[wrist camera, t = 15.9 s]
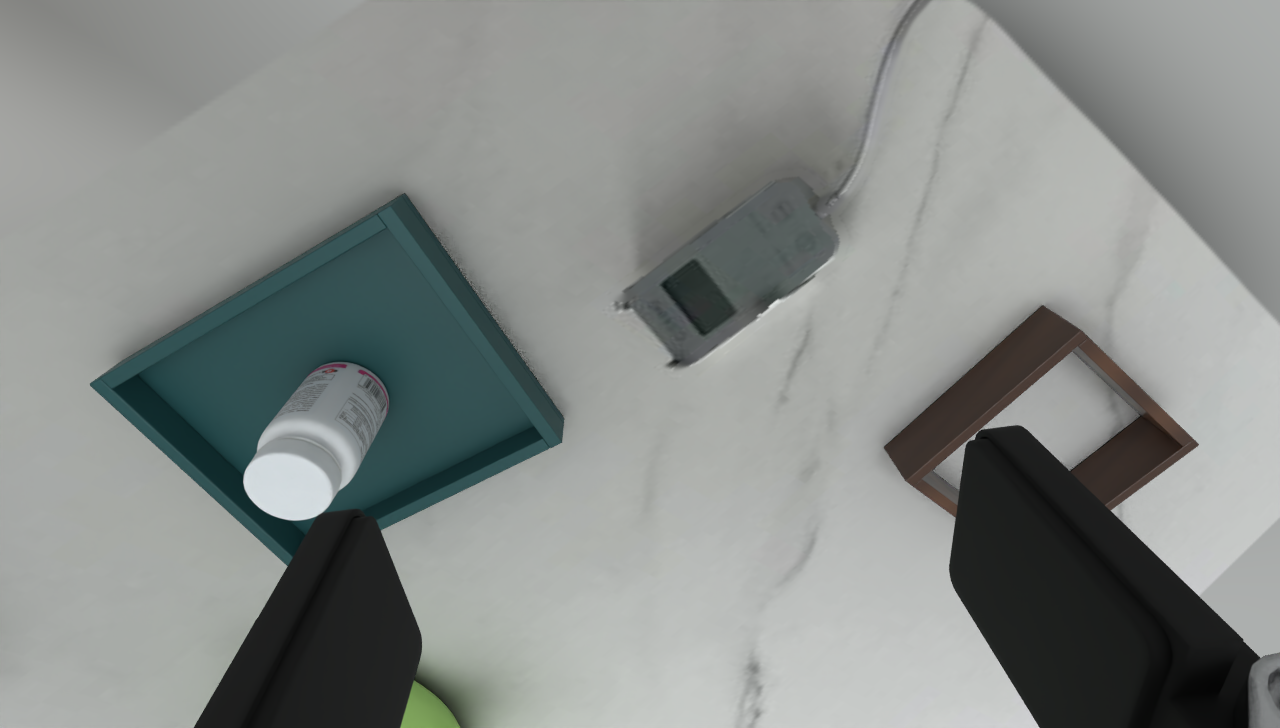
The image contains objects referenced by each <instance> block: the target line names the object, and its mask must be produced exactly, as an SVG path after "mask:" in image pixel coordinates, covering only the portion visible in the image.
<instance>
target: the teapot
mask: <svg viewBox="0 0 1280 728" xmlns="http://www.w3.org/2000/svg"><path fill="white" fill-rule="evenodd" d="M400 728H460V726H459V724H458V723H457V721H456V719H455V717H454V716H453V714H452V713H451V711H450V710H449V709H448V707H447V706H446V705H445V704H444V703H443V702H442V701H441V700H440V699H439V698H438V697H436V696H435V695H434V694H433V693H432V692H430V691H429V690H428V689H426V688H425V687H423V686H422V685H420V684H419V683H417V682H416V681H414V682H413V685H412V689H411V692H410V696H409V699H408V703H407V706H406V710H405V713H404V716H403V720H402V723H401V727H400Z"/></svg>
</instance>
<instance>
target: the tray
mask: <svg viewBox="0 0 1280 728" xmlns="http://www.w3.org/2000/svg"><path fill="white" fill-rule="evenodd" d="M333 362H348V363H353V364H356V365H359V366H361V367H364V368H366V369H367V370H369V371H371V372H372V373H373V374H375V375H376V376H377V377H378V378H379V379H380V380H381V381H382V383H383V384H384V386H385V388H386V390H387V393H388V397H389V408H388V412H387V415H386V417H385V419H384V421H383V423H382V425H381V427H380V429H379V431H378V432H377V434H376V436H375V438H374V440H373V442H372V444H371V445H370V447H369V449H368V451H367V453H366V455H365V457H364V459H363V461H362V463H361V464H360V466H359V468H358V470H357V472H356V474H355V475H354V477H353V478H352V479H351V481H350V482H349V483H348V484H347V485H346V486H345V487H343V488H342V489H341V490H339V491H338V492H337V494H336V496H335V497H334V499H333V500H332V502H331V504H330V505H329V507H328V508H327V509H326V510H325V511H324V512H323V513H325V512H332V511H340V510H348V509H360V510H361V511H362V512H364V514H365V516H366V517H367V516H372V517H374V518H375V519H376V521H377V523H378V526H379V528H380V530H382V529H384V528H386V527H389V526H391V525H393V524H395V523H397V522H399V521H401V520H403V519H405V518H407V517H409V516H411V515H413V514H415V513H417V512H419V511H421V510H424V509H426V508H428V507H430V506H432V505H434V504H436V503H438V502H440V501H442V500H444V499H446V498H448V497H450V496H452V495H454V494H457V493H459V492H461V491H463V490H465V489H467V488H469V487H471V486H473V485H475V484H477V483H479V482H481V481H483V480H485V479H487V478H489V477H492V476H494V475H496V474H498V473H500V472H502V471H504V470H506V469H508V468H510V467H512V466H514V465H516V464H518V463H520V462H522V461H525V460H527V459H529V458H531V457H533V456H535V455H537V454H539V453H541V452H543V451H545V450H547V449H549V448H552V447H554V446H556V445H558V444H560V443H562V437H563V426H564V418H563V416H562V415H561V413H560V412H559V410H558V409H557V408H556V406H555V405H554V403H553V402H552V401H551V399H550V398H549V396H548V395H547V394H546V392H545V391H544V389H543V388H542V386H541V385H540V384H539V382H538V381H537V379H536V378H535V377H534V375H533V374H532V372H531V371H530V369H529V368H528V367H527V365H526V364H525V362H524V361H523V360H522V358H521V357H520V355H519V354H518V353H517V351H516V350H515V348H514V347H513V345H512V344H511V343H510V341H509V340H508V338H507V337H506V336H505V334H504V333H503V331H502V330H501V328H500V327H499V326H498V324H497V323H496V321H495V320H494V319H493V317H492V316H491V314H490V313H489V312H488V310H487V309H486V307H485V306H484V304H483V303H482V302H481V300H480V299H479V297H478V296H477V295H476V293H475V292H474V290H473V289H472V287H471V286H470V285H469V283H468V282H467V280H466V279H465V278H464V276H463V275H462V273H461V272H460V271H459V269H458V268H457V266H456V265H455V263H454V262H453V261H452V259H451V258H450V256H449V255H448V254H447V252H446V251H445V249H444V248H443V246H442V245H441V244H440V242H439V241H438V239H437V238H436V237H435V235H434V234H433V232H432V231H431V230H430V228H429V227H428V225H427V224H426V222H425V221H424V220H423V218H422V217H421V215H420V214H419V213H418V211H417V210H416V208H415V207H414V205H413V204H412V203H411V201H410V200H409V198H408V197H407V196H406V194H402V195H401V196H399V197H397V198H396V199H394V200H392V201H391V202H389V203H387V204H386V205H384V206H382V207H380V208H379V209H377V210H375V211H374V212H372V213H370V214H369V215H367V216H365V217H364V218H362V219H360V220H359V221H357V222H355V223H354V224H352V225H350V226H348V227H347V228H345V229H343V230H342V231H340V232H338V233H337V234H335V235H333V236H332V237H330V238H328V239H327V240H325V241H323V242H322V243H320V244H318V245H316V246H315V247H313V248H311V249H310V250H308V251H306V252H305V253H303V254H301V255H300V256H298V257H296V258H295V259H293V260H291V261H290V262H288V263H286V264H284V265H283V266H281V267H279V268H278V269H276V270H274V271H273V272H271V273H269V274H268V275H266V276H264V277H263V278H261V279H259V280H258V281H256V282H254V283H252V284H251V285H249V286H247V287H246V288H244V289H242V290H241V291H239V292H237V293H236V294H234V295H232V296H231V297H229V298H227V299H226V300H224V301H222V302H220V303H219V304H217V305H215V306H214V307H212V308H210V309H209V310H207V311H205V312H204V313H202V314H200V315H199V316H197V317H195V318H194V319H192V320H190V321H188V322H187V323H185V324H183V325H182V326H180V327H178V328H177V329H175V330H173V331H172V332H170V333H168V334H167V335H165V336H163V337H162V338H160V339H158V340H157V341H155V342H153V343H151V344H150V345H148V346H146V347H145V348H143V349H141V350H140V351H138V352H136V353H135V354H133V355H131V356H130V357H128V358H126V359H125V360H123V361H121V362H120V363H118V364H117V365H115V366H114V367H113V368H111V369H110V370H108V371H107V372H106V373H104V374H103V375H101V376H100V377H98V378H97V379H96V380H94V381H93V382H91V383H90V386H91V387H92V388H93V389H95V390H96V391H97V392H98V393H99V394H100V395H101V396H102V397H103V398H104V399H105V400H107V401H108V402H109V403H110V404H111V405H112V406H113V407H114V408H115V409H116V410H117V411H119V412H120V413H121V414H122V415H123V416H124V417H125V418H126V419H127V420H128V421H130V422H131V423H132V424H133V425H134V426H135V427H136V428H137V429H138V430H139V431H140V432H142V433H143V434H144V435H145V436H146V437H147V438H148V439H149V440H150V441H151V442H152V443H154V444H155V445H156V446H157V447H158V448H159V449H160V450H161V451H162V452H163V453H164V454H166V455H167V456H168V457H169V458H170V459H171V460H172V461H173V462H174V463H175V464H177V465H178V466H179V467H180V468H181V469H182V470H183V471H184V472H185V473H186V474H187V475H189V476H190V477H191V478H192V479H193V480H194V481H195V482H196V483H197V484H198V485H199V486H201V487H202V488H203V489H204V490H205V491H206V492H207V493H208V494H209V495H210V496H212V497H213V498H214V499H215V500H216V501H217V502H218V503H219V504H220V505H221V506H222V507H224V508H225V509H226V510H227V511H228V512H229V513H230V514H231V515H232V516H233V517H234V518H236V519H237V520H238V521H239V522H240V523H241V524H242V525H243V526H244V527H245V528H246V529H248V530H249V531H250V532H251V533H252V534H253V535H254V536H255V537H256V538H257V539H259V540H260V541H261V542H262V543H263V544H264V545H265V546H266V547H267V548H268V549H269V550H271V551H272V552H273V553H274V554H275V555H276V556H277V557H278V558H279V559H280V560H281V561H283V562H284V563H285V564H286V565H287V566H288V565H289V563H290V562H291V560H292V558H293V556H294V555H295V553H296V551H297V549H298V548H299V546H300V544H301V543H302V541H303V539H304V537H305V536H306V534H307V532H308V530H309V529H310V527H311V525H312V524H313V522H314V520H315V519H316V517H317V516H316V517H313V518H310V519H306V520H286V519H281V518H278V517H275V516H272V515H270V514H268V513H266V512H264V511H263V510H262V509H260V508H259V507H258V506H257V505H256V504H254V503H253V501H252V500H251V499H250V498H249V496H248V495H247V493H246V491H245V488H244V483H243V479H244V473H245V470H246V468H247V466H248V465H249V463H250V462H251V461H252V459H253V458H254V456H255V454H256V453H257V446H258V442H259V439H260V437H261V435H262V433H263V432H264V430H265V429H266V428H267V426H268V425H269V424H270V422H271V421H272V420H273V419H274V417H275V416H276V415H277V414H278V412H279V411H280V410H281V409H282V407H283V406H284V405H285V404H286V402H287V401H288V400H289V399H290V397H291V396H292V395H293V394H294V392H295V391H296V390H297V389H298V387H299V386H300V385H301V384H302V382H303V381H304V380H305V379H306V378H307V376H308V375H309V374H310V373H311V372H313V371H314V370H315V369H317V368H318V367H320V366H322V365H325V364H328V363H333Z"/></svg>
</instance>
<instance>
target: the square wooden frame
mask: <svg viewBox="0 0 1280 728" xmlns="http://www.w3.org/2000/svg"><path fill="white" fill-rule="evenodd" d="M1071 351H1073V352H1074V353H1075V354H1076V355H1077V356H1078V357H1079V358H1080V359H1081V360H1082V361H1083V362H1085V363H1086V364H1087V365H1088V366H1089V367H1090V368H1091V369H1092V370H1093V371H1094V372H1095V373H1096V374H1097V375H1098V376H1099V377H1100V378H1101V379H1103V380H1104V381H1105V382H1106V383H1107V384H1108V385H1109V386H1110V387H1111V388H1112V389H1113V390H1114V391H1115V392H1116V393H1117V394H1118V395H1119V396H1121V397H1122V398H1123V399H1124V400H1125V401H1126V402H1127V403H1128V404H1129V405H1130V406H1131V407H1132V408H1133V409H1134V410H1135V411H1136V412H1137V413H1139V414H1140V415H1141V417H1140V418H1138V419H1137V420H1136V421H1135V422H1133V423H1132V424H1131V425H1129V426H1128V427H1127V428H1126V429H1124V430H1123V431H1122V432H1120V433H1119V434H1118V435H1117V436H1115V437H1114V438H1113V439H1111V440H1110V441H1109V442H1108V443H1106V444H1105V445H1104V446H1102V447H1101V448H1100V449H1099V450H1097V451H1096V452H1095V453H1093V454H1092V455H1091V456H1090V457H1088V458H1087V459H1086V460H1084V461H1083V462H1082V463H1081V464H1079V465H1078V466H1077V467H1075V468H1074V469H1073V470H1072V471H1070V472H1071V473H1072V474H1073V475H1074V476H1075V477H1076V478H1077V479H1078V480H1079V481H1080V482H1081V483H1082V484H1083V485H1084V486H1085V487H1086V488H1087V489H1088V490H1089V491H1091V492H1092V493H1093V494H1094V495H1095V496H1096V497H1097V498H1098V499H1099V500H1100V501H1101V502H1102V503H1103V504H1104V505H1105V506H1106V507H1107V508H1108V509H1109V510H1112V509H1113V508H1115V507H1116V506H1117V505H1119V504H1120V503H1121V502H1123V501H1124V500H1125V499H1127V498H1128V497H1129V496H1131V495H1132V494H1134V493H1135V492H1136V491H1138V490H1139V489H1140V488H1142V487H1143V486H1144V485H1146V484H1147V483H1148V482H1150V481H1151V480H1152V479H1154V478H1155V477H1157V476H1158V475H1159V474H1161V473H1162V472H1163V471H1165V470H1166V469H1167V468H1169V467H1170V466H1171V465H1173V464H1174V463H1176V462H1177V461H1178V460H1180V459H1181V458H1182V457H1184V456H1185V455H1186V454H1188V453H1189V452H1190V451H1192V450H1193V449H1195V448H1196V447H1197V446H1198V445H1199V444H1198V443H1197V442H1196V441H1195V440H1194V439H1193V438H1192V437H1191V436H1190V435H1189V434H1188V433H1187V432H1186V431H1185V430H1184V429H1183V428H1182V427H1181V426H1180V425H1179V424H1178V423H1176V422H1175V421H1174V420H1173V419H1172V418H1171V417H1170V416H1169V415H1168V414H1167V413H1166V412H1165V411H1164V410H1163V409H1162V408H1161V407H1160V406H1159V405H1158V404H1157V403H1156V402H1155V401H1154V400H1153V399H1152V398H1151V397H1150V396H1149V395H1148V394H1147V393H1146V392H1145V391H1143V390H1142V389H1141V388H1140V387H1139V386H1138V385H1137V384H1136V383H1135V382H1134V381H1133V380H1132V379H1131V378H1130V377H1129V376H1128V375H1127V374H1126V373H1125V372H1124V371H1123V370H1122V369H1121V368H1120V367H1119V366H1118V365H1117V364H1116V363H1115V362H1114V361H1113V360H1112V359H1110V358H1109V357H1108V356H1107V355H1106V354H1105V353H1104V352H1103V351H1102V350H1101V349H1100V348H1099V347H1098V346H1097V345H1096V344H1095V343H1094V342H1093V341H1092V340H1091V339H1090V338H1089V337H1088V336H1087V335H1086V334H1085V333H1084V332H1083V331H1082V330H1080V329H1079V328H1077V327H1076V326H1074V325H1073V324H1071V323H1069V322H1068V321H1066V320H1065V319H1063V318H1062V317H1060V316H1059V315H1057V314H1056V313H1054V312H1052V311H1051V310H1049V309H1048V308H1046V307H1045V306H1042V307H1041V308H1039V309H1038V310H1037V311H1036V312H1035V313H1034V314H1033V315H1032V316H1031V317H1029V318H1028V319H1027V320H1026V321H1025V322H1024V323H1023V324H1022V325H1020V326H1019V327H1018V328H1017V329H1016V330H1015V331H1014V332H1013V333H1011V334H1010V335H1009V336H1008V337H1007V338H1006V339H1005V340H1004V341H1003V342H1001V343H1000V344H999V345H998V346H997V347H996V348H995V349H994V350H992V351H991V352H990V353H989V354H988V355H987V356H986V357H985V358H984V359H982V360H981V361H980V362H979V363H978V364H977V365H976V366H975V367H973V368H972V369H971V370H970V371H969V372H968V373H967V374H966V375H965V376H963V377H962V378H961V379H960V380H959V381H958V382H957V383H956V384H954V385H953V386H952V387H951V388H950V389H949V390H948V391H947V392H946V393H944V394H943V395H942V396H941V397H940V398H939V399H938V400H937V401H935V402H934V403H933V404H932V405H931V406H930V407H929V408H928V409H927V410H925V411H924V412H923V413H922V414H921V415H920V416H919V417H918V418H916V419H915V420H914V421H913V422H912V423H911V424H910V425H909V426H908V427H906V428H905V429H904V430H903V431H902V432H901V433H900V434H899V435H897V436H896V437H895V438H894V439H893V440H892V441H891V442H890V443H889V444H887V445H886V446H885V447H884V449H885V450H886V452H887V453H888V455H889V456H890V458H891V459H892V461H893V462H894V464H895V465H896V467H897V469H898V470H899V472H900V473H901V475H902V476H903V478H904V479H905V481H906V482H908V483H909V484H910V485H912V486H913V487H914V488H916V489H917V490H919V491H920V492H921V493H923V494H924V495H925V496H927V497H928V498H930V499H931V500H932V501H934V502H935V503H936V504H938V505H939V506H941V507H942V508H943V509H945V510H946V511H947V512H949V513H950V514H951V515H953V516H954V517H956V513H957V506H958V498H959V491H958V490H957V489H955V488H954V487H953V486H951V485H950V484H949V483H947V482H946V481H945V480H943V479H942V478H941V477H939V476H938V475H937V474H935V473H934V472H933V471H932V470H933V469H934V468H935V467H936V466H937V465H939V464H940V463H941V462H942V461H943V460H945V459H946V458H947V457H948V456H949V455H950V454H952V453H953V452H954V451H955V450H956V449H957V448H959V447H960V446H961V445H962V444H963V443H964V442H966V441H967V440H968V439H969V438H970V437H972V436H973V435H974V434H975V433H976V432H977V431H979V430H980V429H981V428H982V427H983V426H984V425H986V424H987V423H988V422H989V421H990V420H992V419H993V418H994V417H995V416H996V415H997V414H999V413H1000V412H1001V411H1002V410H1003V409H1004V408H1006V407H1007V406H1008V405H1009V404H1010V403H1011V402H1013V401H1014V400H1015V399H1016V398H1017V397H1019V396H1020V395H1021V394H1022V393H1023V392H1024V391H1026V390H1027V389H1028V388H1029V387H1030V386H1031V385H1033V384H1034V383H1035V382H1036V381H1037V380H1039V379H1040V378H1041V377H1042V376H1043V375H1044V374H1046V373H1047V372H1048V371H1049V370H1050V369H1051V368H1053V367H1054V366H1055V365H1056V364H1057V363H1058V362H1060V361H1061V360H1062V359H1063V358H1064V357H1066V356H1067V355H1068V354H1069V353H1070V352H1071Z"/></svg>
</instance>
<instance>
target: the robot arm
mask: <svg viewBox="0 0 1280 728" xmlns="http://www.w3.org/2000/svg"><path fill="white" fill-rule="evenodd" d="M949 572H950V578H951V582H952V584H953V587H954V589H955V591H956V593H957V594H958V596H959V598H960V599H961V601H962V602H963V604H964V606H965V607H966V609H967V610H968V612H969V614H970V615H971V617H972V619H973V620H974V622H975V623H976V625H977V627H978V628H979V630H980V632H981V633H982V635H983V636H984V638H985V640H986V641H987V643H988V645H989V646H990V648H991V649H992V651H993V653H994V654H995V656H996V658H997V659H998V661H999V662H1000V664H1001V666H1002V667H1003V669H1004V671H1005V672H1006V674H1007V675H1008V677H1009V679H1010V680H1011V682H1012V683H1013V685H1014V687H1015V688H1016V690H1017V692H1018V693H1019V695H1020V696H1021V698H1022V700H1023V701H1024V703H1025V705H1026V706H1027V708H1028V709H1029V711H1030V713H1031V714H1032V716H1033V718H1034V719H1035V721H1036V722H1037V724H1038V726H1039V727H1040V728H1280V653H1276V654H1271V655H1266V656H1263V657H1262V658H1260V657H1259V656H1258V655H1257V654H1256V653H1255V652H1254V651H1253V650H1252V649H1250V647H1249V646H1248V645H1246V643H1244V642H1243V639H1242V638H1241V637H1240V636H1239V635H1238V634H1237V633H1236V632H1235V631H1234V630H1233V629H1232V628H1231V627H1230V626H1229V625H1228V624H1227V623H1226V622H1225V621H1223V619H1222V618H1221V617H1220V616H1218V614H1217V613H1215V612H1214V611H1213V610H1212V609H1211V608H1210V607H1209V606H1208V605H1207V604H1206V603H1205V602H1204V601H1203V600H1202V599H1201V598H1200V597H1199V596H1198V595H1197V594H1196V593H1195V592H1194V591H1193V590H1192V589H1191V588H1190V587H1189V586H1188V585H1187V584H1186V583H1184V582H1183V581H1182V580H1181V579H1180V578H1179V577H1178V576H1177V575H1176V574H1175V573H1174V572H1173V571H1172V570H1171V569H1170V568H1169V567H1168V566H1167V565H1166V564H1165V563H1164V562H1163V561H1162V560H1161V559H1160V558H1159V557H1158V556H1157V555H1156V554H1155V553H1154V552H1152V551H1151V550H1150V549H1149V548H1148V547H1147V546H1146V545H1145V544H1144V543H1143V542H1142V541H1141V540H1140V539H1139V538H1138V537H1137V536H1136V535H1135V534H1134V533H1133V532H1132V531H1131V530H1130V529H1129V528H1128V527H1127V526H1126V525H1125V524H1124V523H1123V522H1121V521H1120V520H1119V519H1118V518H1117V517H1116V516H1115V515H1114V514H1113V513H1112V512H1111V511H1110V510H1109V509H1108V508H1107V507H1106V506H1105V505H1104V504H1103V503H1102V502H1101V501H1100V500H1099V499H1098V498H1097V497H1096V496H1095V495H1094V494H1093V493H1092V492H1091V491H1089V490H1088V489H1087V488H1086V487H1085V486H1084V485H1083V484H1082V483H1081V482H1080V481H1079V480H1078V479H1077V478H1076V477H1075V476H1074V475H1073V474H1072V473H1071V472H1070V471H1069V470H1068V469H1067V468H1066V467H1065V466H1064V465H1063V464H1062V463H1061V462H1060V461H1058V460H1057V459H1056V458H1055V457H1054V456H1053V455H1052V454H1051V453H1050V452H1049V451H1048V450H1047V449H1046V448H1045V447H1044V446H1043V445H1042V444H1041V443H1040V442H1039V441H1038V440H1037V439H1036V438H1035V437H1034V436H1033V435H1032V434H1031V433H1030V432H1029V431H1028V430H1026V429H1025V428H1024V427H1022V426H1018V425H1015V426H1007V427H999V428H992V429H984V430H981V431H979V432H978V433H977V435H976V438H975V440H971V441H969V442H968V443H967V444H966V448H965V454H964V461H963V469H962V476H961V483H960V491H959V498H958V506H957V513H956V520H955V528H954V535H953V542H952V550H951V557H950V564H949ZM421 652H422V638H421V633H420V630H419V627H418V625H417V622H416V620H415V617H414V615H413V612H412V609H411V607H410V604H409V602H408V599H407V597H406V594H405V592H404V589H403V587H402V584H401V582H400V579H399V576H398V574H397V571H396V569H395V566H394V564H393V561H392V559H391V556H390V554H389V551H388V549H387V546H386V543H385V541H384V538H383V536H382V533H381V531H380V528H379V526H378V523H377V521H376V519H375V518H374V517H372V516H367V517H366V516H365V514H364V512H362V511H361V510H360V509H348V510H340V511H332V512H325V513H321V514H319V515H318V516H317V517H316V519H315V520H314V522H313V524H312V525H311V527H310V529H309V530H308V532H307V534H306V536H305V537H304V539H303V541H302V543H301V544H300V546H299V548H298V549H297V551H296V553H295V555H294V556H293V558H292V560H291V562H290V563H289V565H288V567H287V569H286V570H285V572H284V574H283V575H282V577H281V579H280V581H279V582H278V584H277V586H276V588H275V589H274V591H273V593H272V594H271V596H270V598H269V600H268V601H267V603H266V605H265V607H264V608H263V610H262V612H261V614H260V615H259V617H258V618H257V619H256V621H255V623H254V625H253V626H252V628H251V630H250V632H249V633H248V635H247V637H246V638H245V640H244V642H243V644H242V645H241V647H240V649H239V651H238V652H237V654H236V656H235V657H234V659H233V661H232V663H231V664H230V666H229V668H228V670H227V671H226V673H225V675H224V676H223V678H222V680H221V682H220V683H219V685H218V687H217V689H216V690H215V692H214V694H213V695H212V697H211V699H210V701H209V702H208V704H207V706H206V708H205V709H204V711H203V713H202V714H201V716H200V718H199V720H198V721H197V723H196V725H195V727H194V728H400V727H401V723H402V720H403V716H404V713H405V710H406V706H407V703H408V699H409V696H410V692H411V689H412V685H413V682H414V678H415V675H416V671H417V668H418V664H419V661H420V657H421Z"/></svg>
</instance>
